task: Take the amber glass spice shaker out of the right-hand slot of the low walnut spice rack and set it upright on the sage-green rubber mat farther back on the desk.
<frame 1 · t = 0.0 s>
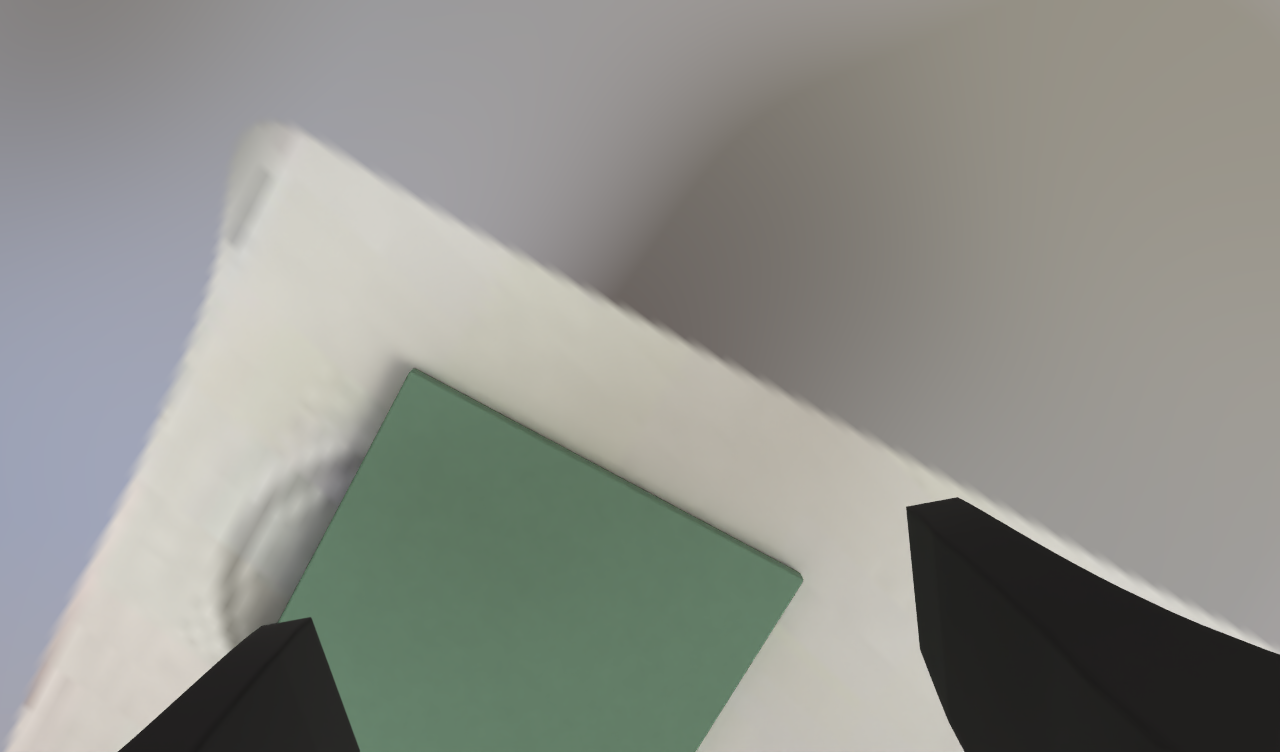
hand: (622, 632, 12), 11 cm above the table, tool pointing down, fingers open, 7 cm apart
green mat: (509, 651, 23), on the table
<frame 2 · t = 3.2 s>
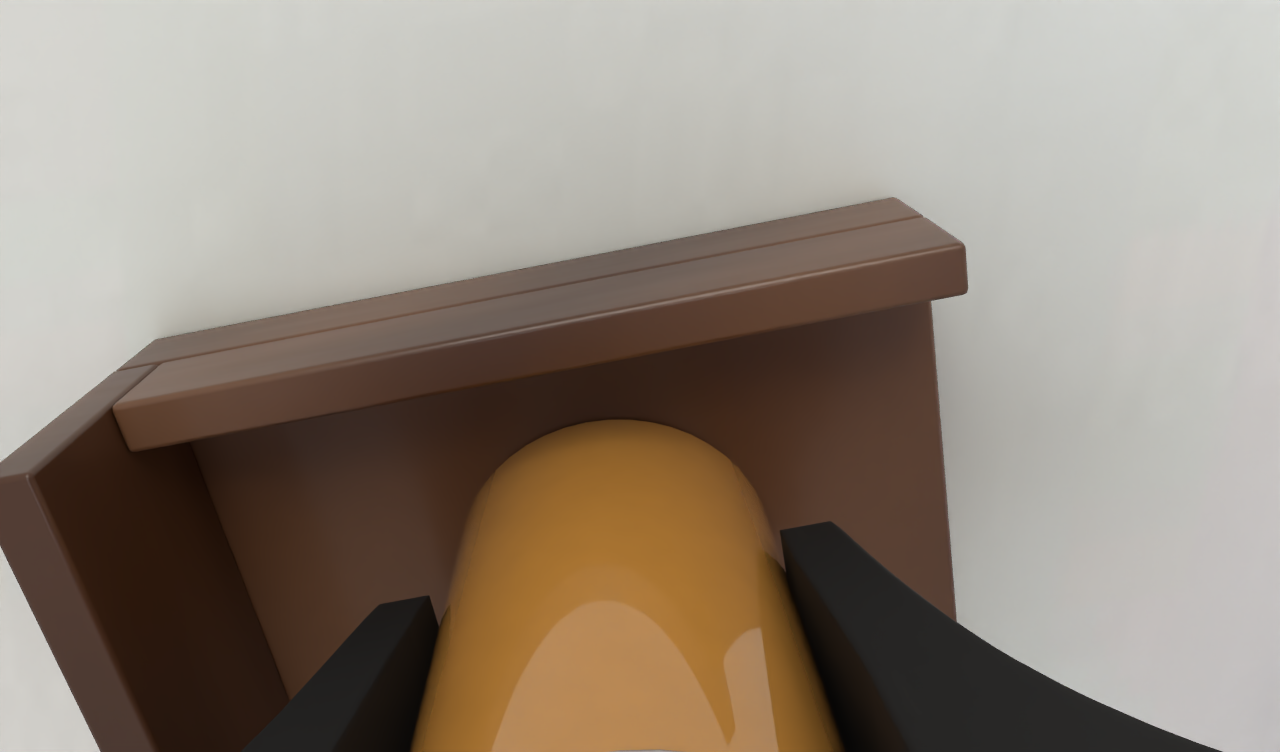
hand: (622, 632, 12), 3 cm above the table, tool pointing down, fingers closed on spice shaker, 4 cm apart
spice rack: (627, 717, 16), on the table
spice shaker: (617, 560, 13), point 1 cm above the table, touching gripper, spice rack
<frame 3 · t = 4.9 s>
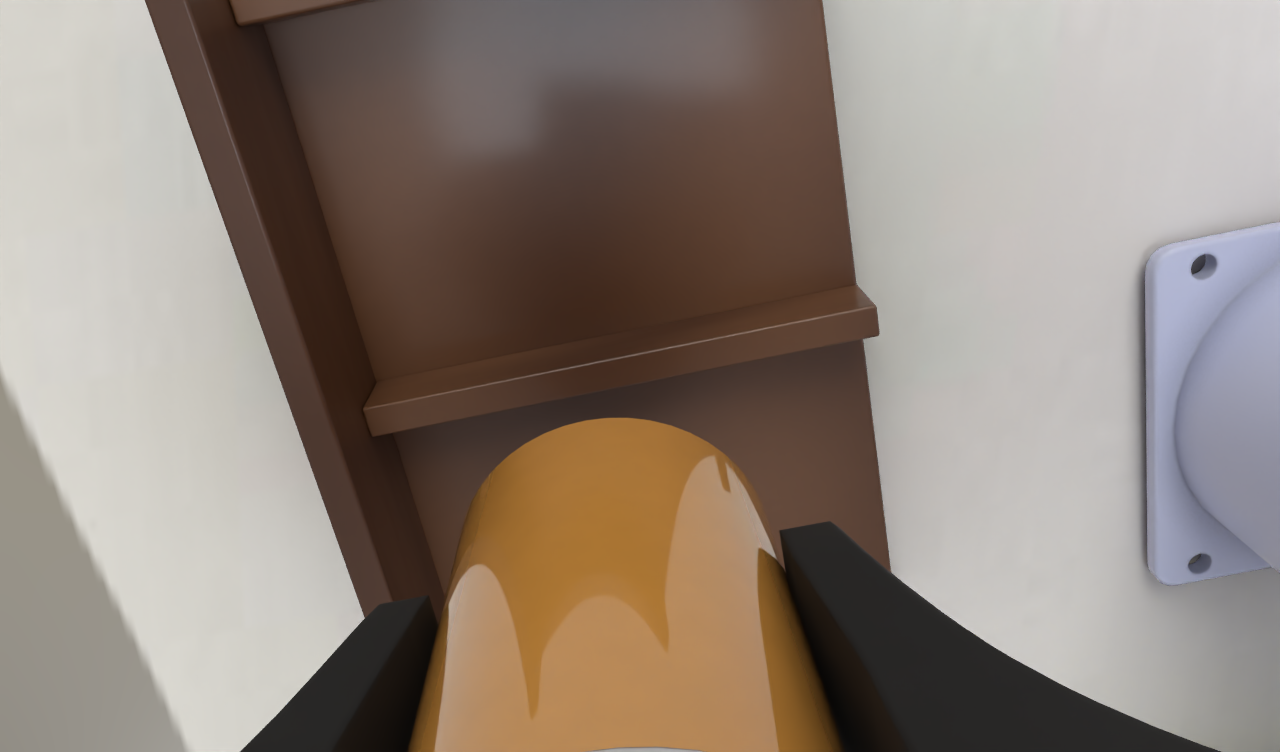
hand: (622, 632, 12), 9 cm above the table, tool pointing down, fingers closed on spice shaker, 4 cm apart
spice rack: (602, 330, 20), on the table
spice shaker: (616, 559, 13), point 8 cm above the table, touching gripper
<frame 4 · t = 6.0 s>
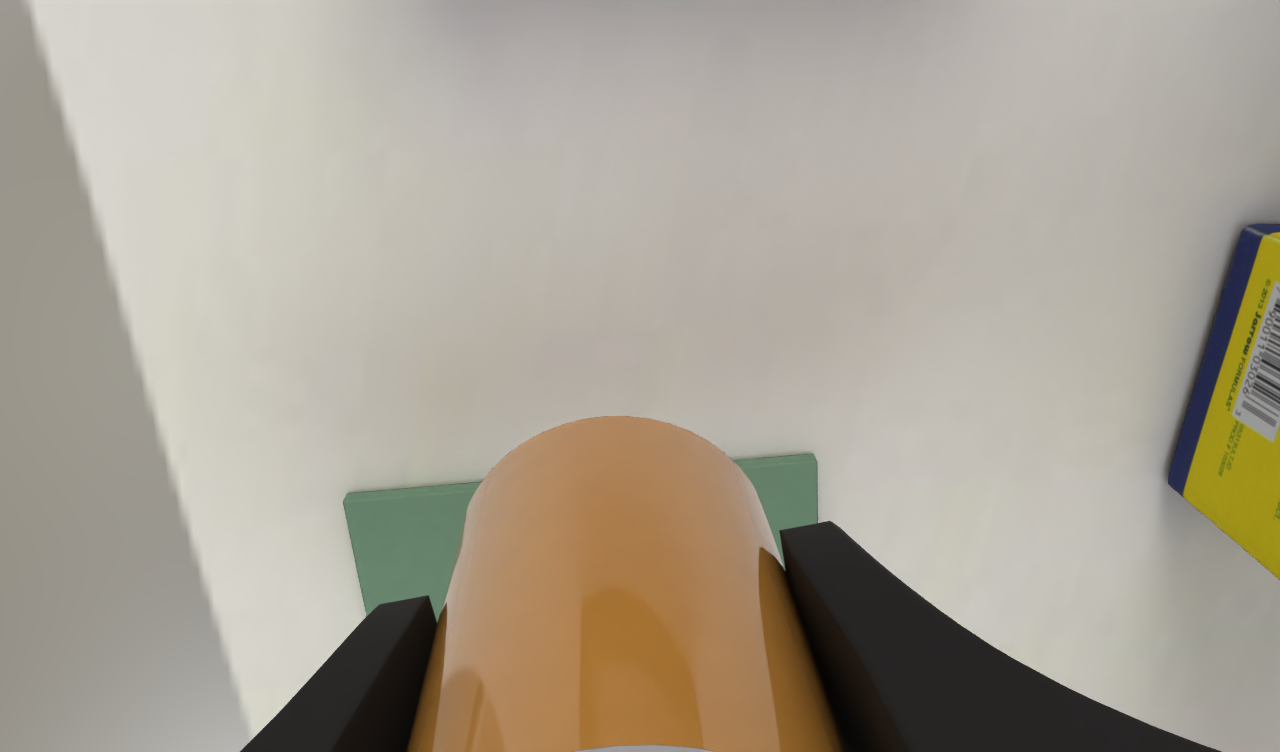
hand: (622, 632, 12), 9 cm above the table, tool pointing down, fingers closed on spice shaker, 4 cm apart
green mat: (601, 665, 23), on the table
spice shaker: (615, 557, 13), point 8 cm above the table, touching gripper
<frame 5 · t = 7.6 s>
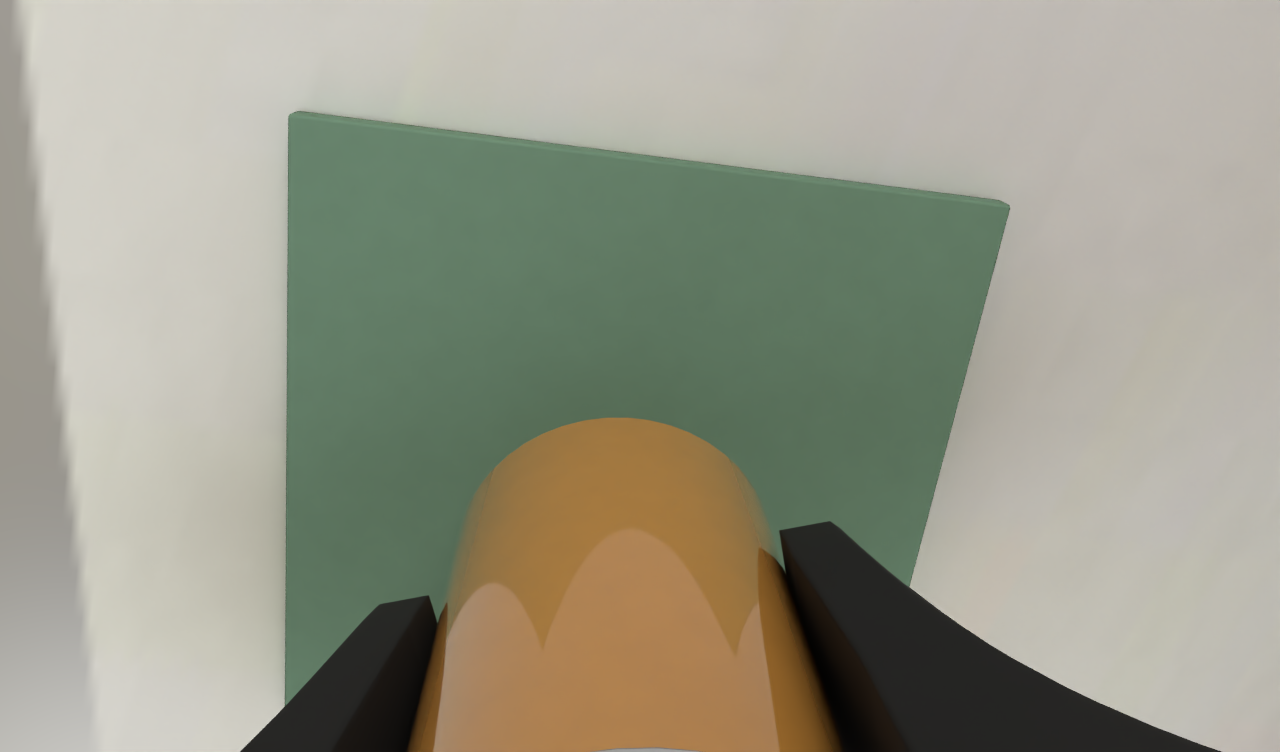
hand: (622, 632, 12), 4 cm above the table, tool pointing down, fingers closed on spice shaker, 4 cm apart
green mat: (616, 474, 16), on the table
spice shaker: (615, 559, 13), point 3 cm above the table, touching gripper
when the fingers open (2 cm above the table, at t = 8.7 s): spice shaker stays where it is, resting on green mat.
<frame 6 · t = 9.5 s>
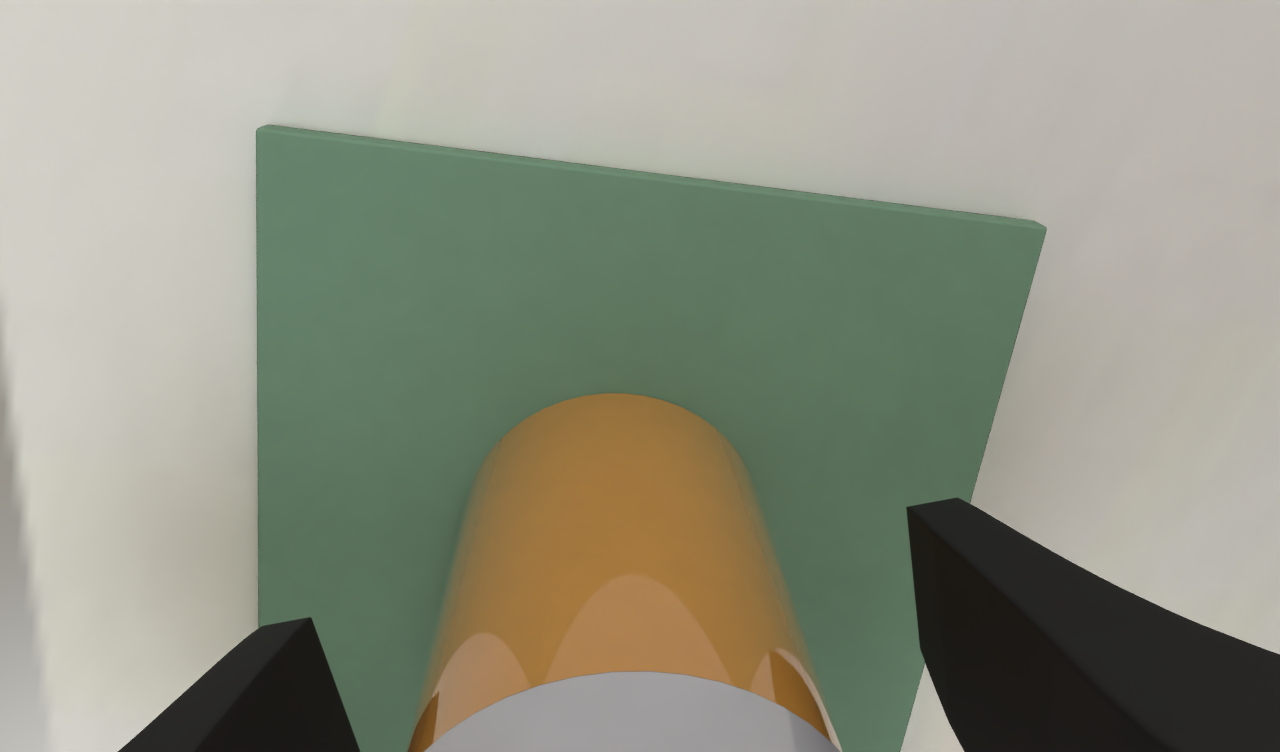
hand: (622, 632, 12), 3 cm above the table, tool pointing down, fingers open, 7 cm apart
green mat: (616, 515, 14), on the table
spice shaker: (613, 528, 14), resting on green mat
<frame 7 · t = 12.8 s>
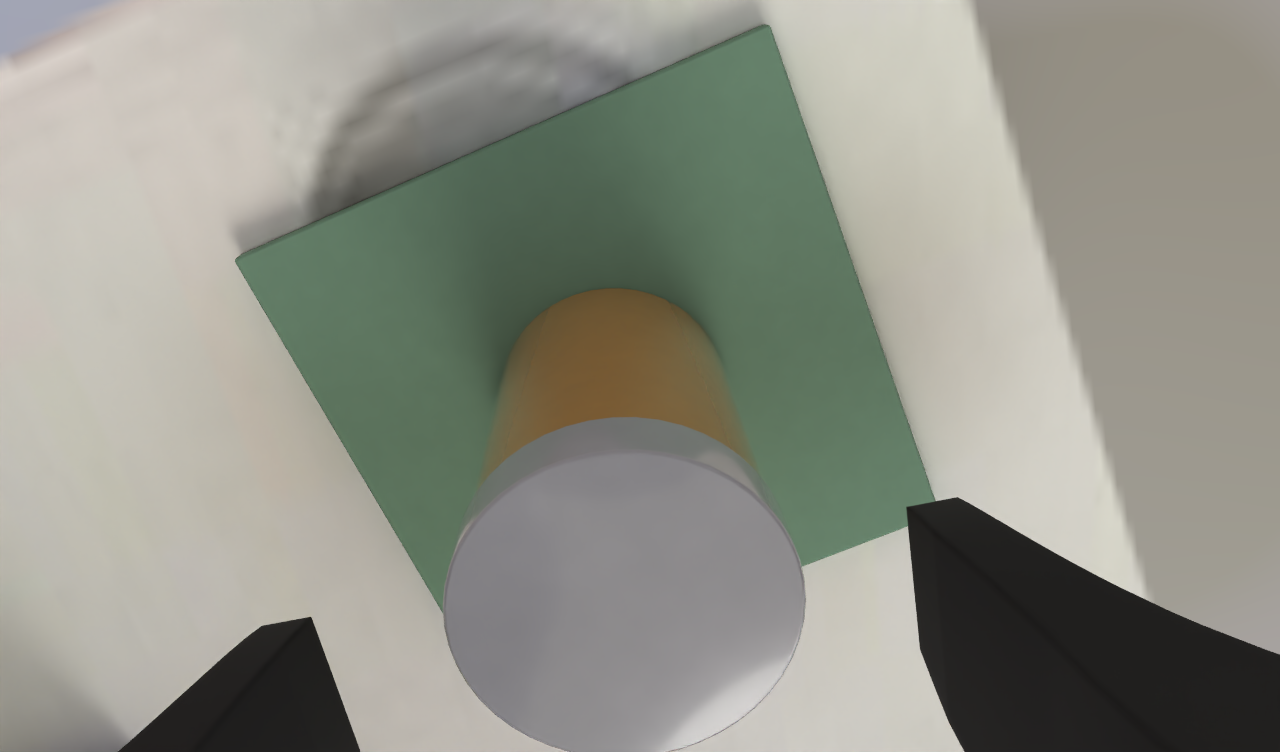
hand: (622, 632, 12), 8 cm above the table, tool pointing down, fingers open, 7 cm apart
green mat: (610, 388, 19), on the table
spice shaker: (613, 395, 19), resting on green mat
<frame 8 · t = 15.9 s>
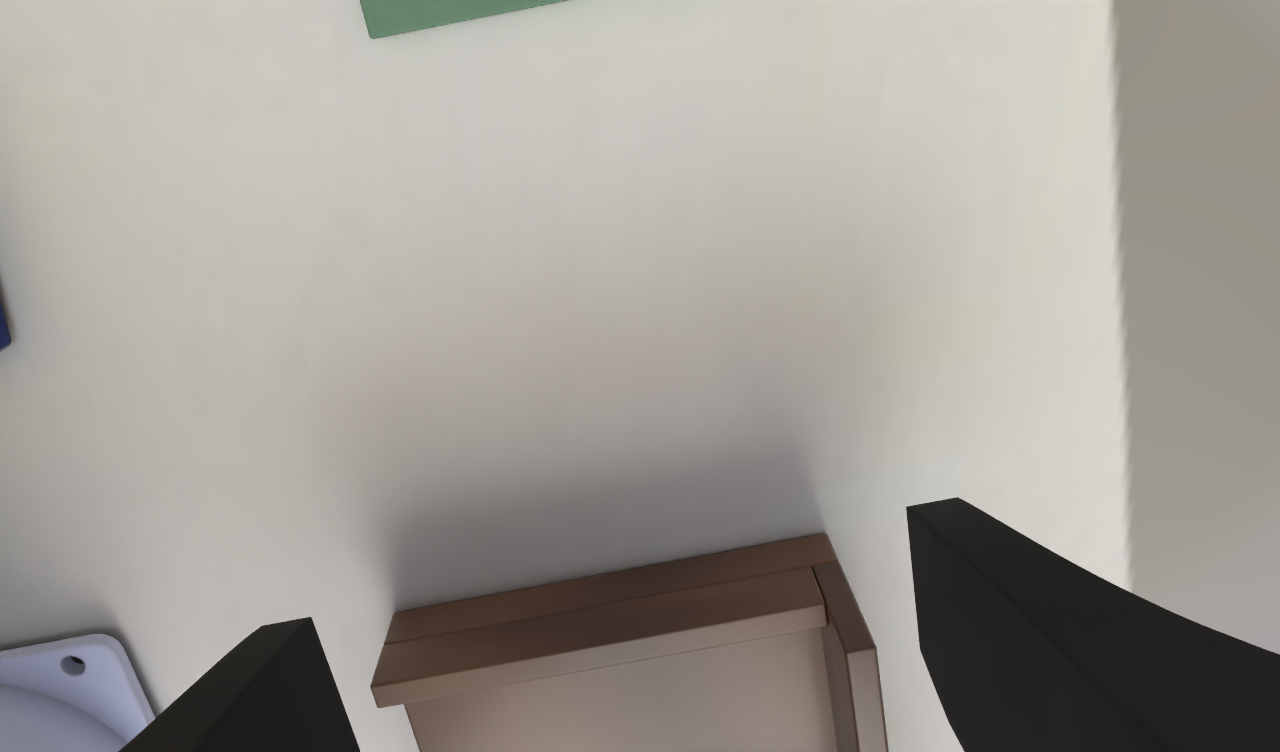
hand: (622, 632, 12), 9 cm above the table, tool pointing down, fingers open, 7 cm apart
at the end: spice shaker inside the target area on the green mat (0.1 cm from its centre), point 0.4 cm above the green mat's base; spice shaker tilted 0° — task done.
